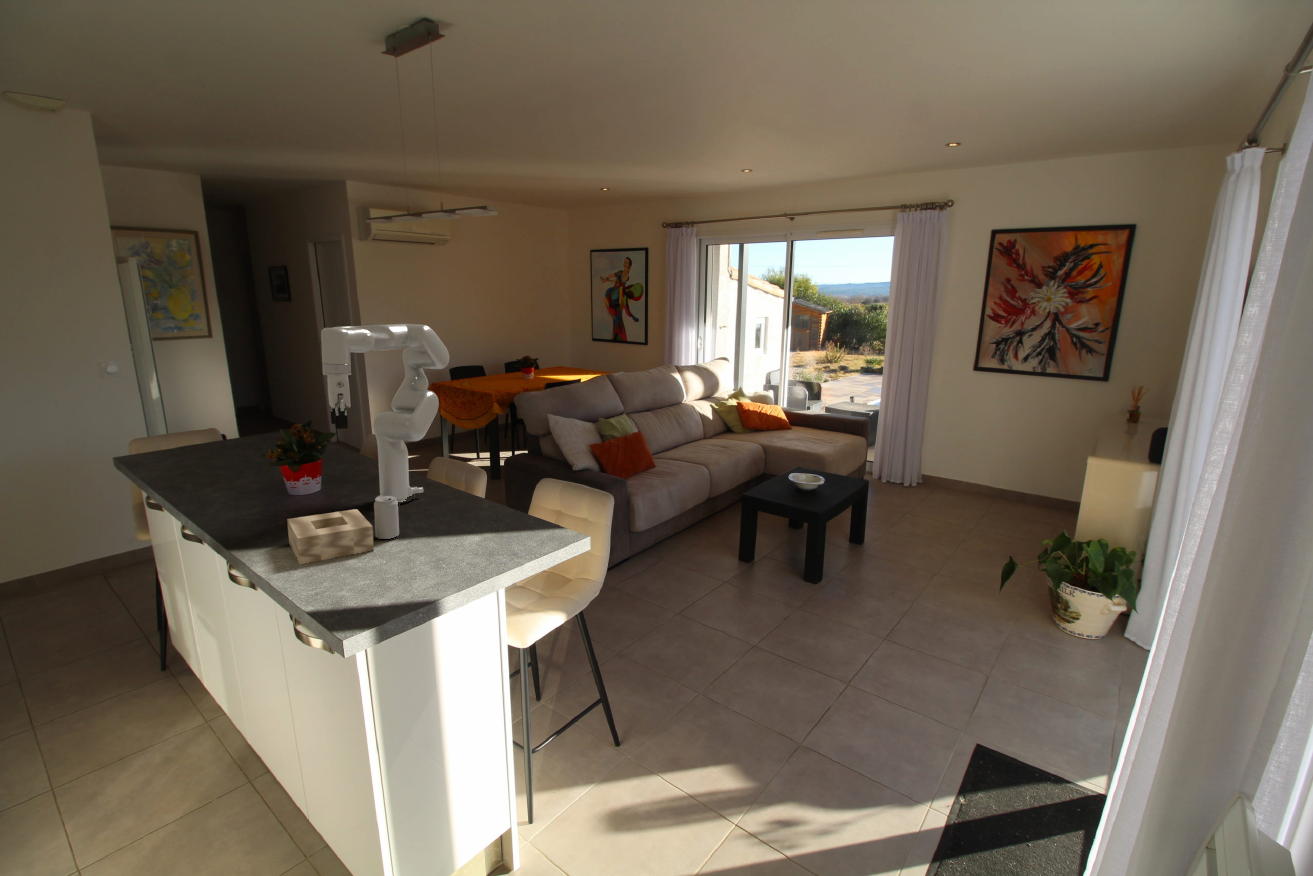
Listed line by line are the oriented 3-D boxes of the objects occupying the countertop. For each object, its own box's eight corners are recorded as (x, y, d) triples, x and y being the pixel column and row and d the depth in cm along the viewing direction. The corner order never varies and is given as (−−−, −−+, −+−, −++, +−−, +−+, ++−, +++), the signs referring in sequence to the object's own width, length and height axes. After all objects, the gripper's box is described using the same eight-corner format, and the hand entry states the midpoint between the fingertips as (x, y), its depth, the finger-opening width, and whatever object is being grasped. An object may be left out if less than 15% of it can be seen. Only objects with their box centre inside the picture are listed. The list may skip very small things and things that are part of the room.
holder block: (358, 531, 183) (356, 509, 181) (373, 550, 169) (372, 526, 168) (289, 543, 172) (287, 519, 170) (299, 564, 158) (297, 538, 157)
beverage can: (384, 542, 175) (382, 502, 173) (371, 537, 179) (369, 498, 176) (403, 536, 181) (402, 497, 178) (390, 532, 184) (388, 493, 182)
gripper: (355, 372, 177) (357, 429, 180) (346, 367, 191) (348, 421, 194) (326, 371, 173) (329, 431, 176) (319, 367, 187) (321, 422, 190)
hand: (339, 426), depth 185 cm, fingers open, 9 cm apart
